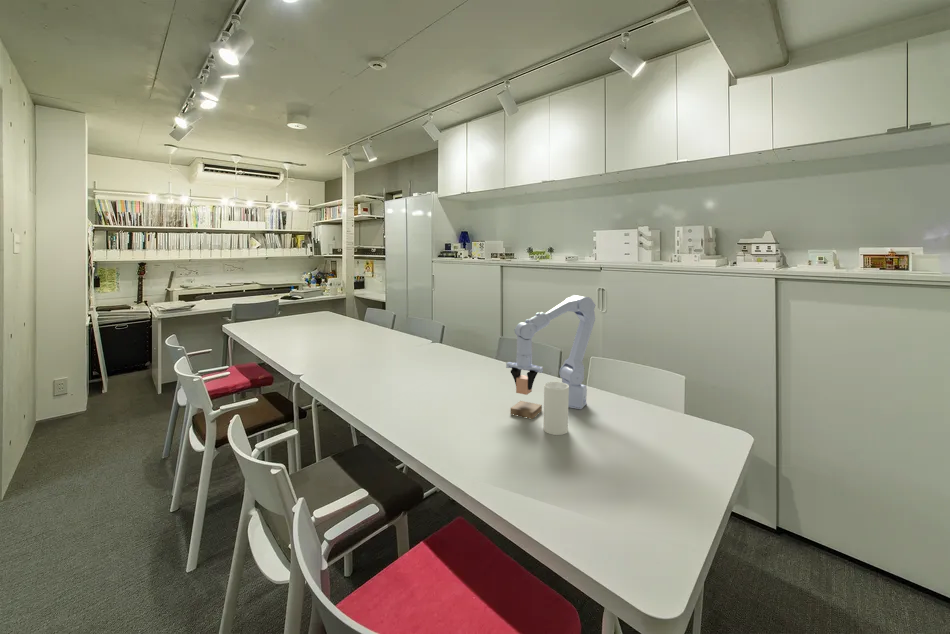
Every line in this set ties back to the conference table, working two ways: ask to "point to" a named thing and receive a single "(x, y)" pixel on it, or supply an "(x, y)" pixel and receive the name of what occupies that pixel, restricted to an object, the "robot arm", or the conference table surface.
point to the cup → (556, 408)
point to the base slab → (526, 409)
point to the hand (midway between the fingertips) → (524, 387)
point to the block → (522, 385)
